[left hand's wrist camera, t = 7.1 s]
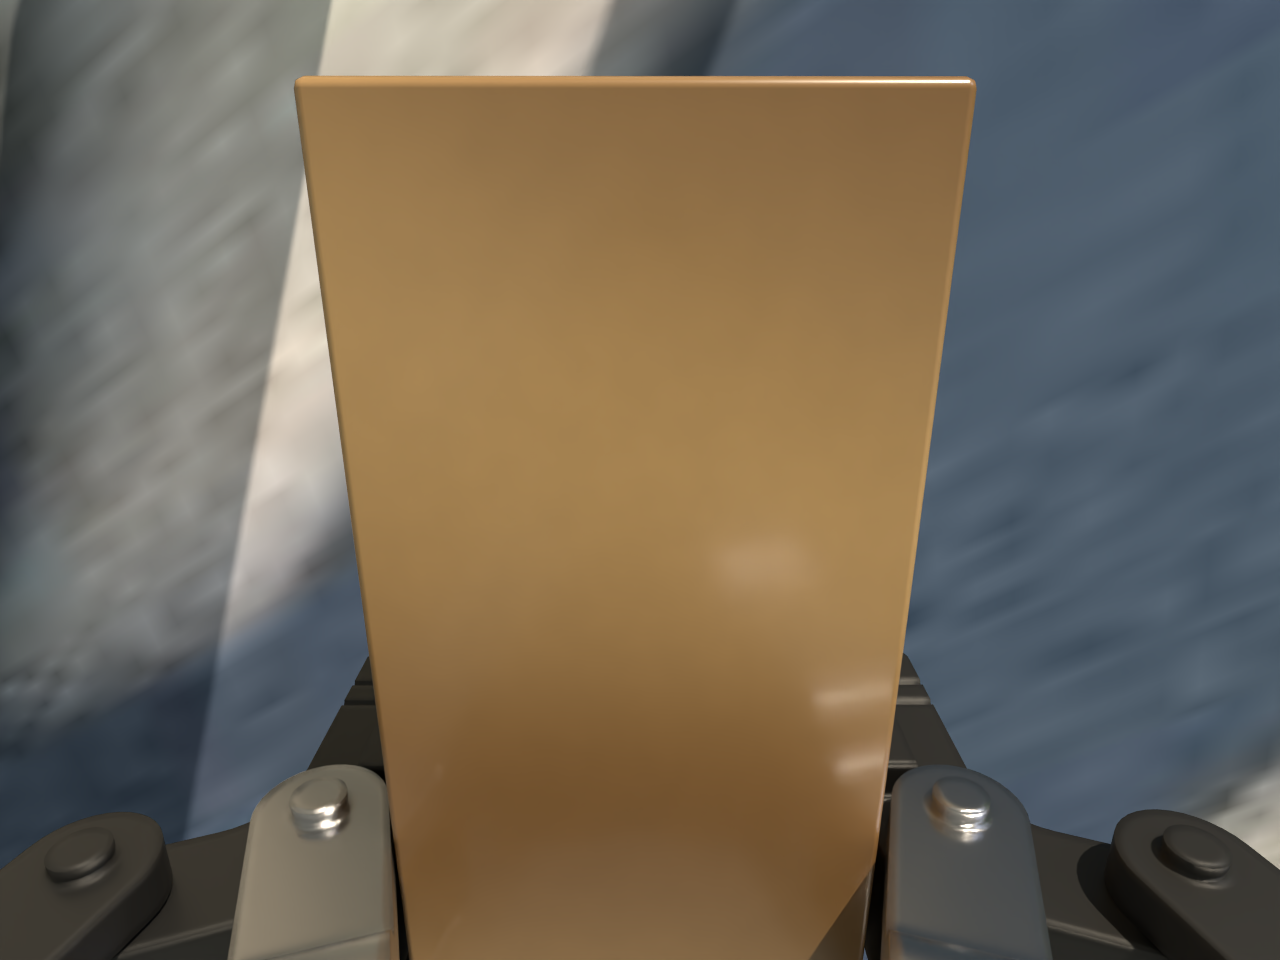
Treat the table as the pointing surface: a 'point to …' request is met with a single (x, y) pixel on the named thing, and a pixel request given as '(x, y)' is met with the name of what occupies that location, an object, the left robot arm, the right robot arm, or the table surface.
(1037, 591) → the table surface
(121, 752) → the table surface
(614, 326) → the post
